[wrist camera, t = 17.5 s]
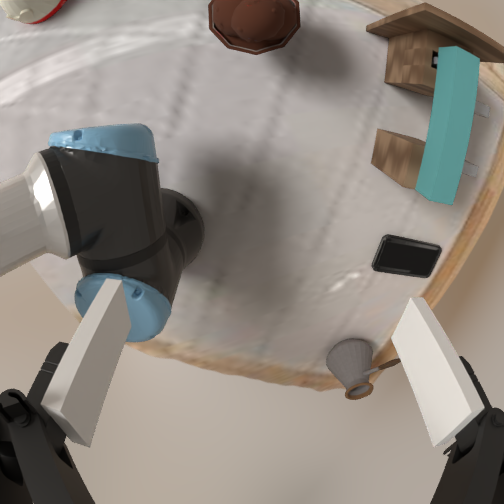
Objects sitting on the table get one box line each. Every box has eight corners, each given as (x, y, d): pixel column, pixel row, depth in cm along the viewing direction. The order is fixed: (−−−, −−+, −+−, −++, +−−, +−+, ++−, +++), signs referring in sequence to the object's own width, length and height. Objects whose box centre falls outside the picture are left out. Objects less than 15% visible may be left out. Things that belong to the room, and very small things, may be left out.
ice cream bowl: (304, 21, 34) (329, -7, 21) (262, 74, 39) (268, 67, 26) (244, -14, 31) (242, -54, 18) (201, 40, 36) (180, 19, 23)
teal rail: (421, 182, 40) (453, 205, 32) (398, 177, 40) (428, 200, 32) (443, 59, 30) (481, 59, 22) (418, 48, 30) (455, 45, 22)
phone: (385, 235, 52) (443, 247, 53) (383, 232, 53) (440, 244, 54) (370, 271, 55) (428, 279, 57) (369, 267, 56) (426, 276, 58)
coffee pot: (350, 367, 72) (363, 415, 59) (314, 358, 69) (324, 410, 56) (404, 311, 62) (429, 359, 49) (370, 295, 60) (394, 348, 47)
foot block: (410, 171, 46) (447, 196, 36) (371, 163, 46) (403, 187, 35) (417, 138, 43) (457, 156, 33) (377, 128, 43) (412, 143, 32)
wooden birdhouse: (442, 101, 39) (514, 119, 24) (361, 76, 38) (420, 75, 23) (448, 56, 35) (519, 58, 19) (366, 25, 34) (425, 2, 18)
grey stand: (457, 167, 45) (475, 177, 40) (438, 161, 45) (456, 171, 40) (469, 102, 38) (490, 107, 33) (450, 94, 38) (470, 97, 33)
